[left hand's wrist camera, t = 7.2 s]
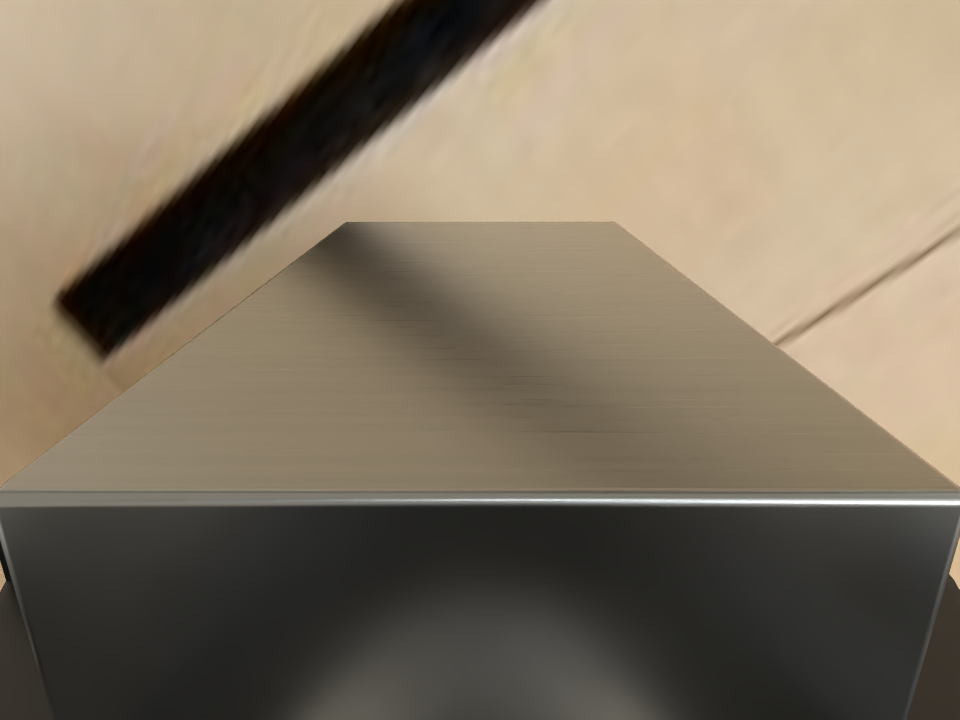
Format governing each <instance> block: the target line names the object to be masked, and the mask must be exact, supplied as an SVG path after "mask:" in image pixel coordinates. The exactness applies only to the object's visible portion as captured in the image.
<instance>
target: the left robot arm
mask: <svg viewBox="0 0 960 720" xmlns="http://www.w3.org/2000/svg"><path fill="white" fill-rule="evenodd" d="M0 561H1V565H2V568H3V571H4V575H5V578H6V582H5V584H4V586H3V588H2V590H1V591H0V720H53V719H52V715H51V712H50V709H49V705H48V702H47V698H46V695H45V691H44V688H43V685H42V681H41V678H40V674H39V671H38V668H37V664H36V661H35V657H34V654H33V650H32V647H31V644H30V640H29V637H28V633H27V630H26V627H25V623H24V620H23V616H22V613H21V610H20V606H19V603H18V599H17V596H16V592H15V589H14V586H13V582H12V579H11V575H10V572H9V569H8V565H7V562H6V558H5V555H4V551H3V548H2V545H1V541H0ZM907 720H960V590H959V588H958V586H957V585H956V583H955V581H954V579H953V578H952V577H951V576H950V575H948V578H947V582H946V585H945V589H944V592H943V596H942V599H941V602H940V606H939V609H938V613H937V616H936V620H935V623H934V627H933V630H932V634H931V637H930V640H929V644H928V647H927V651H926V654H925V658H924V661H923V665H922V668H921V672H920V675H919V678H918V682H917V685H916V689H915V692H914V696H913V699H912V703H911V706H910V710H909V713H908V716H907Z"/></svg>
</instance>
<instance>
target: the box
mask: <svg viewBox="0 0 960 720" xmlns="http://www.w3.org/2000/svg"><path fill="white" fill-rule="evenodd" d="M959 537H960V487H959V486H958V485H956V484H955V483H954V482H952V481H951V480H950V479H948V478H947V477H946V476H945V475H943V474H942V473H941V472H939V471H938V470H937V469H935V468H934V467H933V466H932V465H930V464H929V463H928V462H926V461H925V460H924V459H922V458H921V457H920V456H919V455H917V454H916V453H915V452H913V451H912V450H911V449H909V448H908V447H907V446H906V445H904V444H903V443H902V442H900V441H899V440H898V439H897V438H895V437H894V436H893V435H891V434H890V433H889V432H887V431H886V430H885V429H884V428H882V427H881V426H880V425H878V424H877V423H876V422H874V421H873V420H872V419H871V418H869V417H868V416H867V415H865V414H864V413H863V412H861V411H860V410H859V409H858V408H856V407H855V406H854V405H852V404H851V403H850V402H848V401H847V400H846V399H845V398H843V397H842V396H841V395H839V394H838V393H837V392H835V391H834V390H833V389H832V388H830V387H829V386H828V385H826V384H825V383H824V382H822V381H821V380H820V379H819V378H817V377H816V376H815V375H813V374H812V373H811V372H810V371H808V370H807V369H806V368H804V367H803V366H802V365H800V364H799V363H798V362H797V361H795V360H794V359H793V358H791V357H790V356H789V355H787V354H786V353H785V352H784V351H782V350H781V349H780V348H778V347H777V346H776V345H774V344H773V343H772V342H771V341H769V340H768V339H767V338H765V337H764V336H763V335H761V334H760V333H759V332H758V331H756V330H755V329H754V328H752V327H751V326H750V325H748V324H747V323H746V322H745V321H743V320H742V319H741V318H739V317H738V316H737V315H736V314H734V313H733V312H732V311H730V310H729V309H728V308H726V307H725V306H724V305H723V304H721V303H720V302H719V301H717V300H716V299H715V298H713V297H712V296H711V295H710V294H708V293H707V292H706V291H704V290H703V289H702V288H700V287H699V286H698V285H697V284H695V283H694V282H693V281H691V280H690V279H689V278H687V277H686V276H685V275H684V274H682V273H681V272H680V271H678V270H677V269H676V268H674V267H673V266H672V265H671V264H669V263H668V262H667V261H665V260H664V259H663V258H661V257H660V256H659V255H658V254H656V253H655V252H654V251H652V250H651V249H650V248H649V247H647V246H646V245H645V244H643V243H642V242H641V241H639V240H638V239H637V238H636V237H634V236H633V235H632V234H630V233H629V232H628V231H626V230H625V229H624V228H623V227H621V226H620V225H619V224H617V223H615V222H346V223H344V224H342V225H341V226H340V227H338V228H337V229H336V230H335V231H333V232H332V233H331V234H329V235H328V236H327V237H325V238H324V239H323V240H321V241H320V242H319V243H318V244H316V245H315V246H314V247H312V248H311V249H310V250H308V251H307V252H306V253H305V254H303V255H302V256H301V257H299V258H298V259H297V260H295V261H294V262H293V263H291V264H290V265H289V266H288V267H286V268H285V269H284V270H282V271H281V272H280V273H278V274H277V275H276V276H274V277H273V278H272V279H271V280H269V281H268V282H267V283H265V284H264V285H263V286H261V287H260V288H259V289H257V290H256V291H255V292H254V293H252V294H251V295H250V296H248V297H247V298H246V299H244V300H243V301H242V302H241V303H239V304H238V305H237V306H235V307H234V308H233V309H231V310H230V311H229V312H227V313H226V314H225V315H224V316H222V317H221V318H220V319H218V320H217V321H216V322H214V323H213V324H212V325H210V326H209V327H208V328H207V329H205V330H204V331H203V332H201V333H200V334H199V335H197V336H196V337H195V338H194V339H192V340H191V341H190V342H188V343H187V344H186V345H184V346H183V347H182V348H180V349H179V350H178V351H177V352H175V353H174V354H173V355H171V356H170V357H169V358H167V359H166V360H165V361H163V362H162V363H161V364H160V365H158V366H157V367H156V368H154V369H153V370H152V371H150V372H149V373H148V374H147V375H145V376H144V377H143V378H141V379H140V380H139V381H137V382H136V383H135V384H133V385H132V386H131V387H130V388H128V389H127V390H126V391H124V392H123V393H122V394H120V395H119V396H118V397H116V398H115V399H114V400H113V401H111V402H110V403H109V404H107V405H106V406H105V407H103V408H102V409H101V410H100V411H98V412H97V413H96V414H94V415H93V416H92V417H90V418H89V419H88V420H86V421H85V422H84V423H83V424H81V425H80V426H79V427H77V428H76V429H75V430H73V431H72V432H71V433H69V434H68V435H67V436H66V437H64V438H63V439H62V440H60V441H59V442H58V443H56V444H55V445H54V446H52V447H51V448H50V449H49V450H47V451H46V452H45V453H43V454H42V455H41V456H39V457H38V458H37V459H36V460H34V461H33V462H32V463H30V464H29V465H28V466H26V467H25V468H24V469H22V470H21V471H20V472H19V473H17V474H16V475H15V476H13V477H12V478H11V479H9V480H8V481H7V482H5V483H4V484H3V485H2V486H0V541H1V545H2V548H3V551H4V555H5V558H6V562H7V565H8V569H9V572H10V575H11V579H12V582H13V586H14V589H15V592H16V596H17V599H18V603H19V606H20V610H21V613H22V616H23V620H24V623H25V627H26V630H27V633H28V637H29V640H30V644H31V647H32V650H33V654H34V657H35V661H36V664H37V668H38V671H39V674H40V678H41V681H42V685H43V688H44V691H45V695H46V698H47V702H48V705H49V709H50V712H51V715H52V719H53V720H907V716H908V713H909V710H910V706H911V703H912V699H913V696H914V692H915V689H916V685H917V682H918V678H919V675H920V672H921V668H922V665H923V661H924V658H925V654H926V651H927V647H928V644H929V640H930V637H931V634H932V630H933V627H934V623H935V620H936V616H937V613H938V609H939V606H940V602H941V599H942V596H943V592H944V589H945V585H946V582H947V578H948V575H949V571H950V568H951V564H952V561H953V558H954V554H955V551H956V547H957V544H958V540H959Z"/></svg>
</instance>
